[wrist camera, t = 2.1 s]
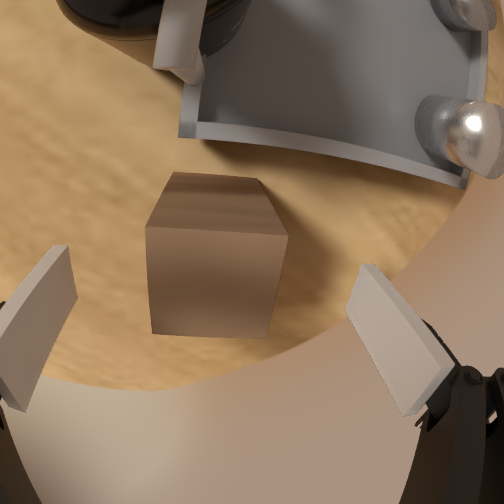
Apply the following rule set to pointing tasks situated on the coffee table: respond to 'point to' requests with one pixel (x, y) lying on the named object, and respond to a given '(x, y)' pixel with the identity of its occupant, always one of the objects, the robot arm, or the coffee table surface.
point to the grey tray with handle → (324, 78)
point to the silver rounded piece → (463, 133)
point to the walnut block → (213, 257)
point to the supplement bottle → (151, 23)
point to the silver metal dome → (465, 14)
